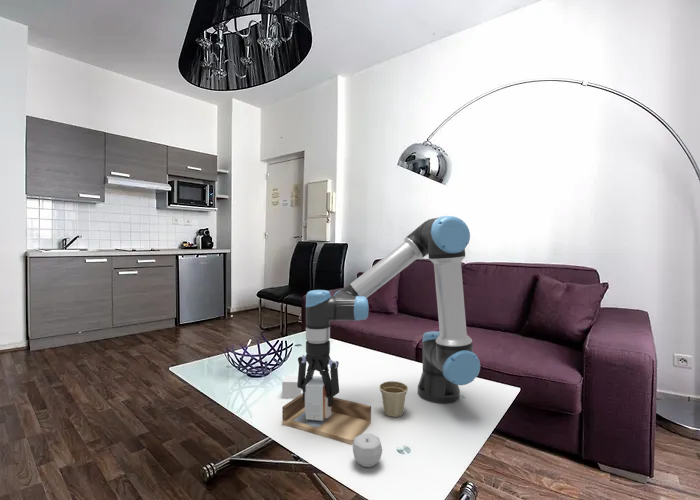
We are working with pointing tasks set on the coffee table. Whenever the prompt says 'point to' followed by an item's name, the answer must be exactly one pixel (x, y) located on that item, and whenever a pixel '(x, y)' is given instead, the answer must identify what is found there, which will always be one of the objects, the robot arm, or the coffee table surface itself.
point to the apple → (367, 449)
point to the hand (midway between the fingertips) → (317, 413)
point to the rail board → (330, 419)
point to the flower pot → (393, 397)
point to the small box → (315, 399)
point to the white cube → (290, 387)
